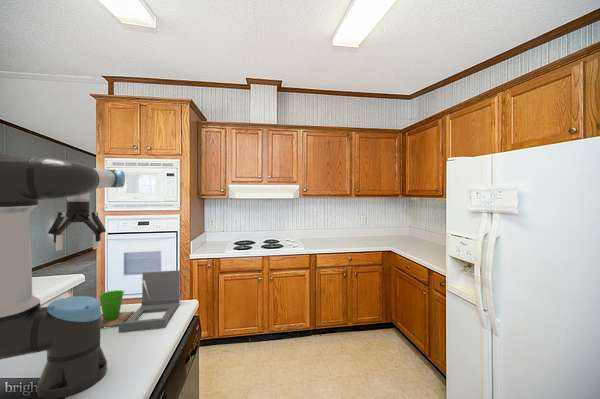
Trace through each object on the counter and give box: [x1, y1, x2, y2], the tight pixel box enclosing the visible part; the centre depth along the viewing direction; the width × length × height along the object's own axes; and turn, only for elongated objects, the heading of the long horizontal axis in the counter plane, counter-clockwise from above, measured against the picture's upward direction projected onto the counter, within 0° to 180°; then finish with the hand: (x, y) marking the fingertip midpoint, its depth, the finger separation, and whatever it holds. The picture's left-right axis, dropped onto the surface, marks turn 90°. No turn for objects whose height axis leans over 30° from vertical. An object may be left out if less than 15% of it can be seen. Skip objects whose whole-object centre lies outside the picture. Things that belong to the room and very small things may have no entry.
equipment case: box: [118, 269, 181, 333], centre depth 114 cm, size 17×25×18 cm
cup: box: [98, 289, 125, 321], centre depth 110 cm, size 9×9×11 cm
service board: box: [101, 311, 135, 329], centre depth 110 cm, size 13×13×1 cm
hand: (77, 249), depth 109 cm, fingers open, 13 cm apart
